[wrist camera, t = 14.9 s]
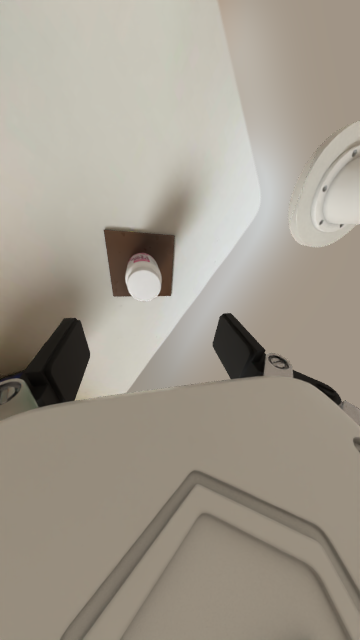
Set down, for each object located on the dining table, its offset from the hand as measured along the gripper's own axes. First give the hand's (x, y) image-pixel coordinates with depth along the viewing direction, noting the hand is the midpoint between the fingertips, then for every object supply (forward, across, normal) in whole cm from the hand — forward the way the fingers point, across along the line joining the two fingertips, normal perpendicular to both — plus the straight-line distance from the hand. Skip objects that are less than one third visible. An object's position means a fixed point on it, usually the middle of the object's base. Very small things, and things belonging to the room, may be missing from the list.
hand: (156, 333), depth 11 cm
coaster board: (+18, +1, 0) cm, 18 cm away
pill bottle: (+18, +1, 0) cm, 18 cm away
